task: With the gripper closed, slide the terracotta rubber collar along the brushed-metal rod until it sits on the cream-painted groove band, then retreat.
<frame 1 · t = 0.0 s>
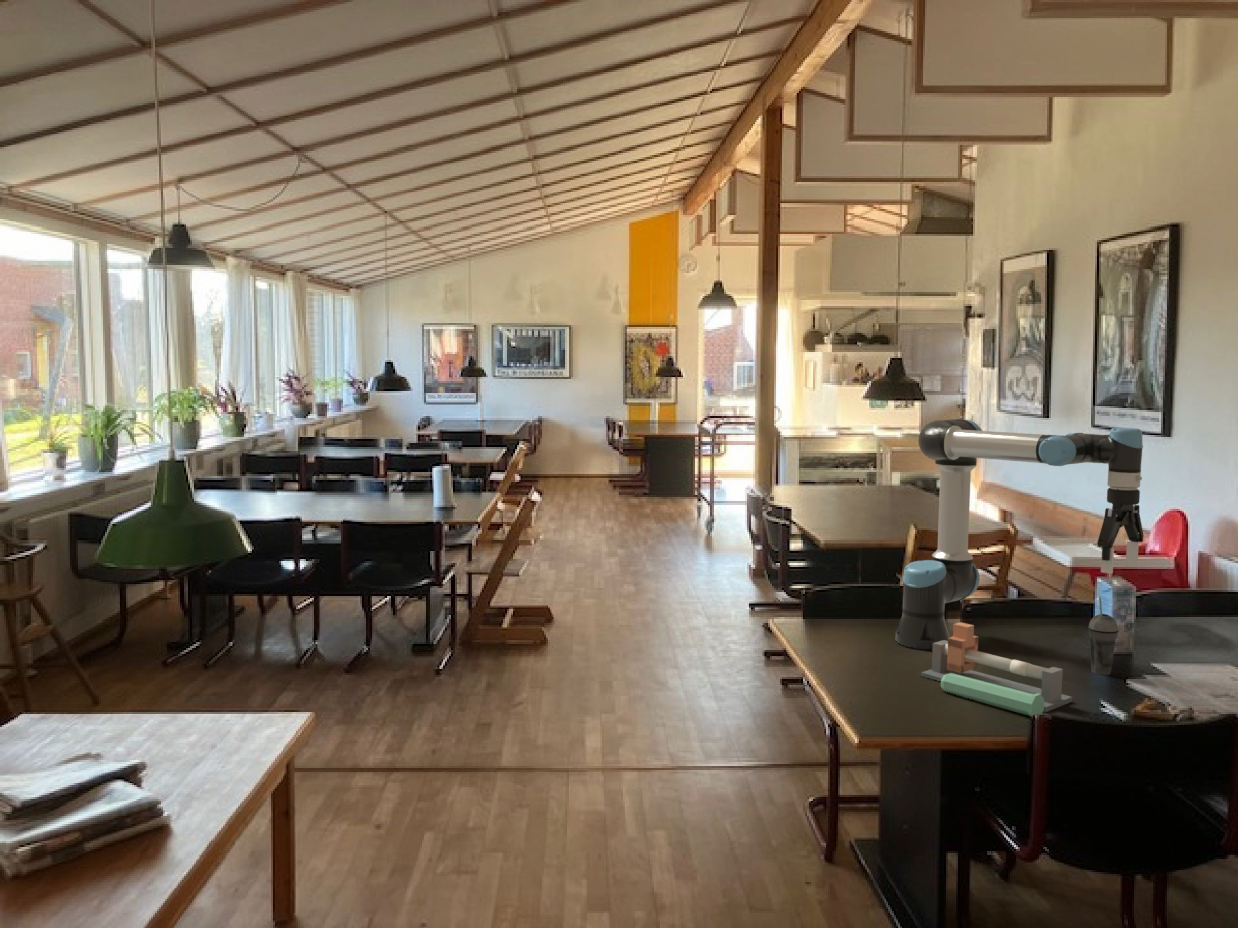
hand: (1119, 569, 261), 28 cm above the table, fingers open, 13 cm apart
beverage cup: (1100, 672, 266), on the table
rail: (993, 688, 252), on the table
light green long prism: (988, 704, 242), on the table
collar: (962, 646, 258), point 9 cm above the table, slide at 0.0 cm
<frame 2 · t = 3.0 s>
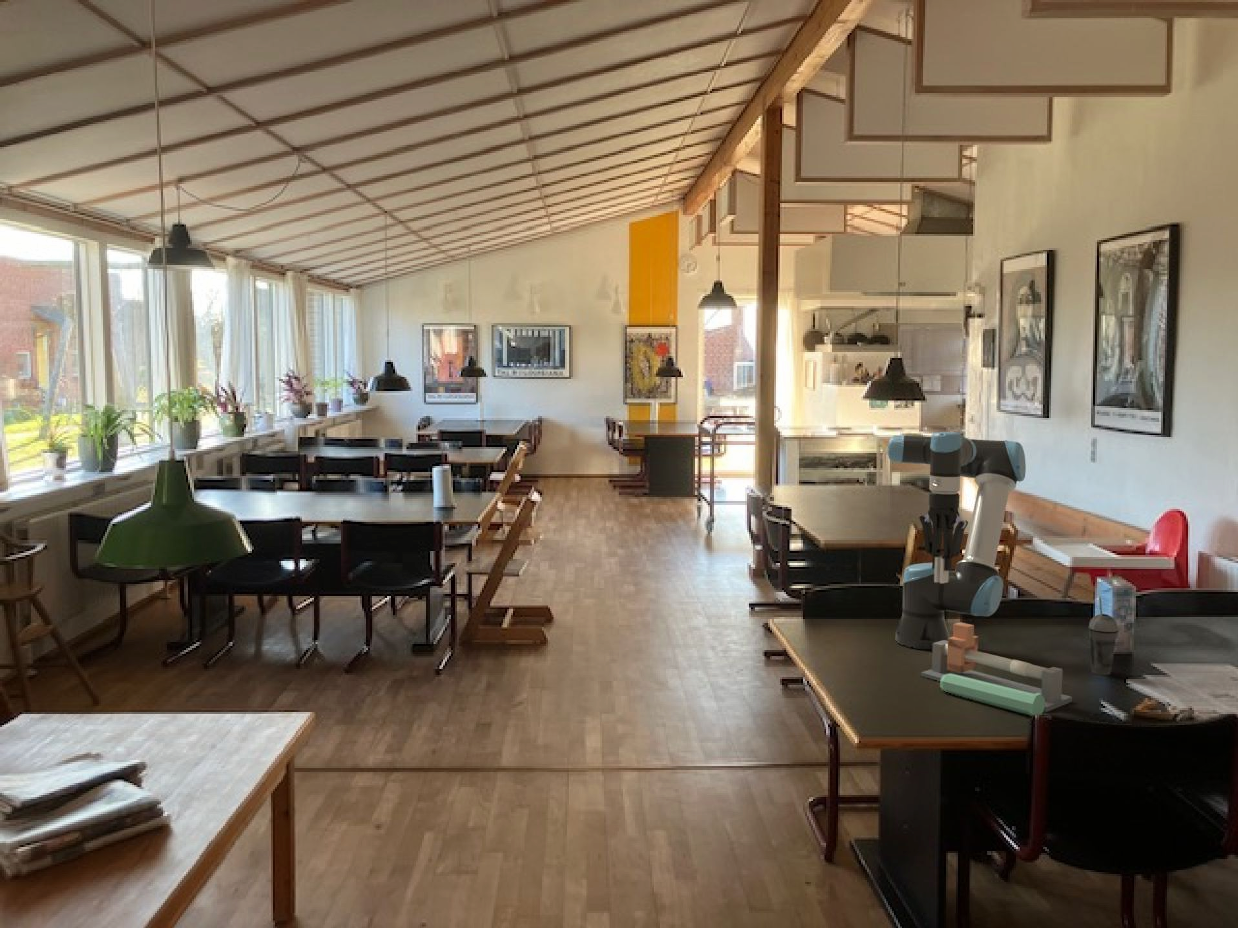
hand: (941, 581, 262), 24 cm above the table, fingers closed
nothing on the table moved.
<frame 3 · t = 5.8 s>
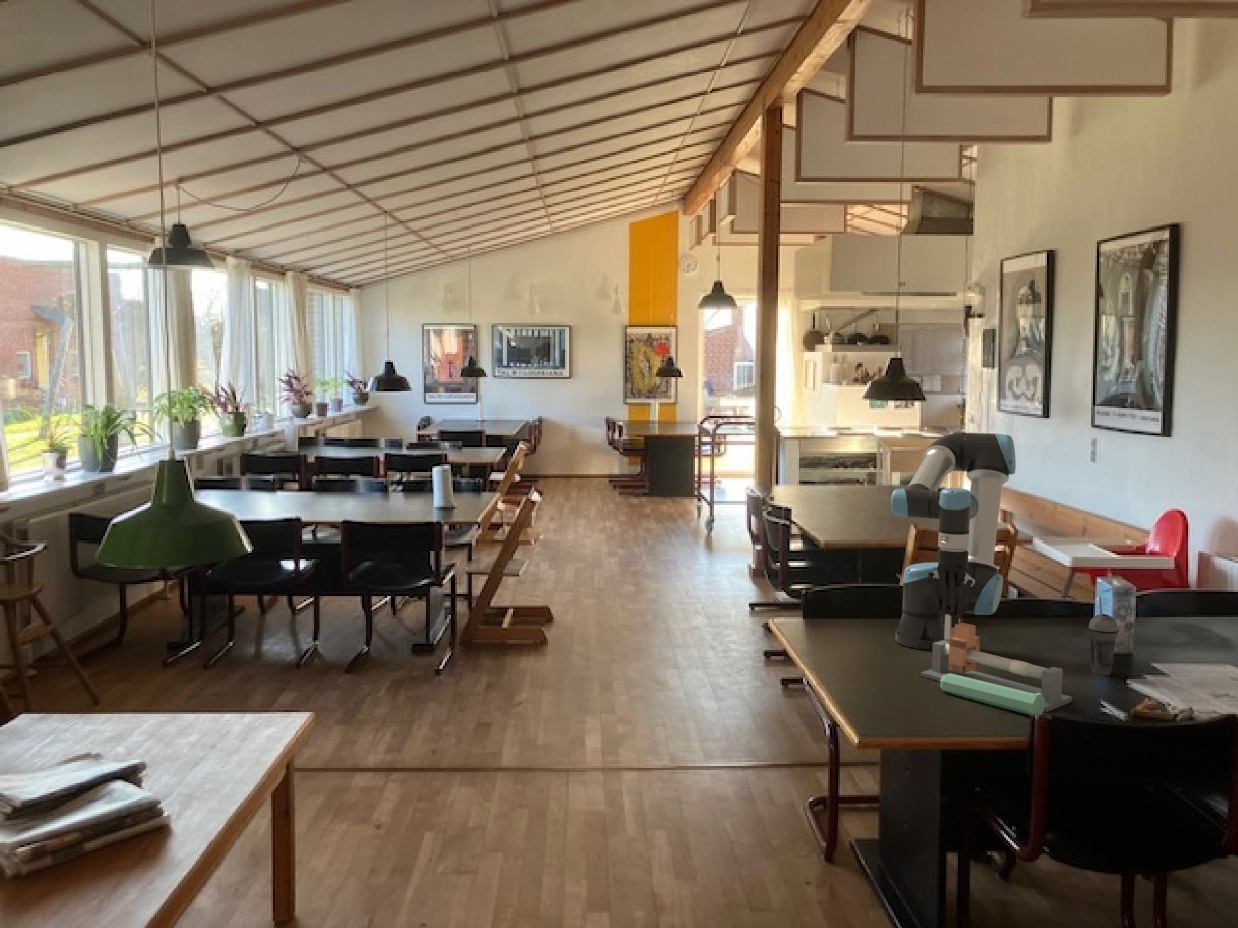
hand: (949, 638, 261), 10 cm above the table, fingers closed
collar: (964, 647, 258), point 9 cm above the table, slide at 0.5 cm, touching gripper
everything else where it was.
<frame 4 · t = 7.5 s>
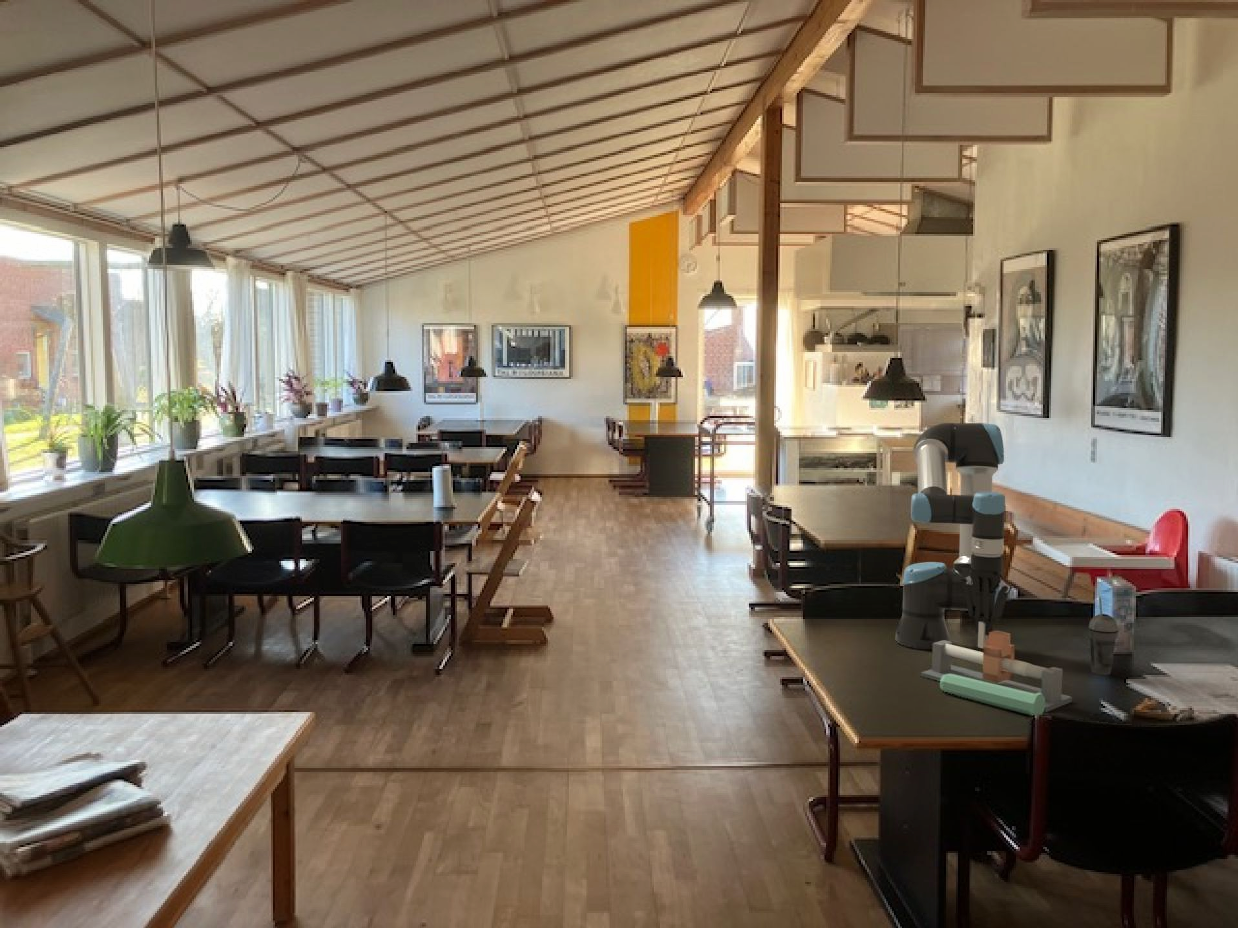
hand: (983, 646, 254), 10 cm above the table, fingers closed
collar: (998, 655, 251), point 9 cm above the table, slide at 10.1 cm, touching gripper
everything else where it was.
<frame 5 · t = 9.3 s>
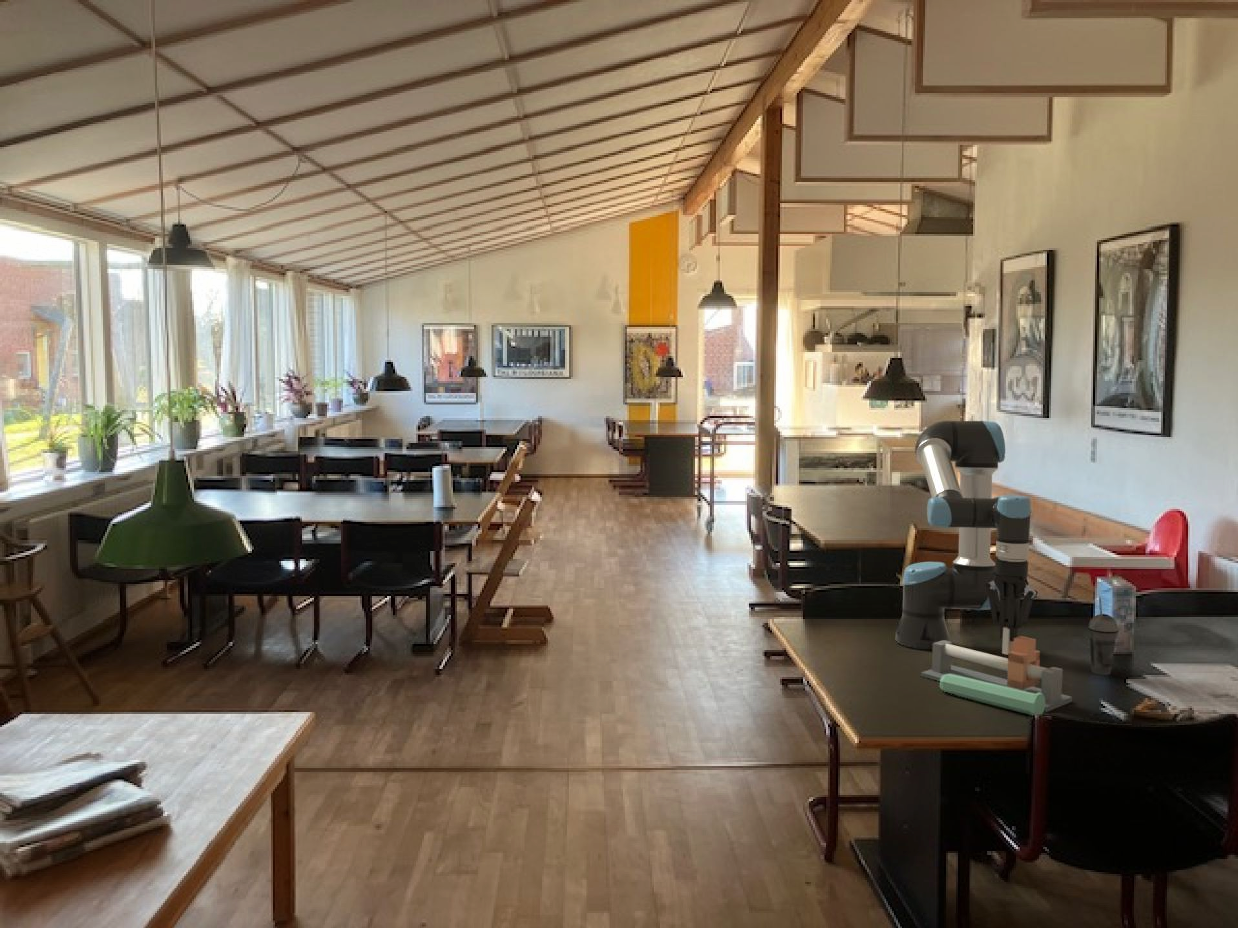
hand: (1007, 652, 249), 10 cm above the table, fingers closed
collar: (1023, 661, 245), point 9 cm above the table, slide at 16.7 cm, touching gripper
everything else where it was.
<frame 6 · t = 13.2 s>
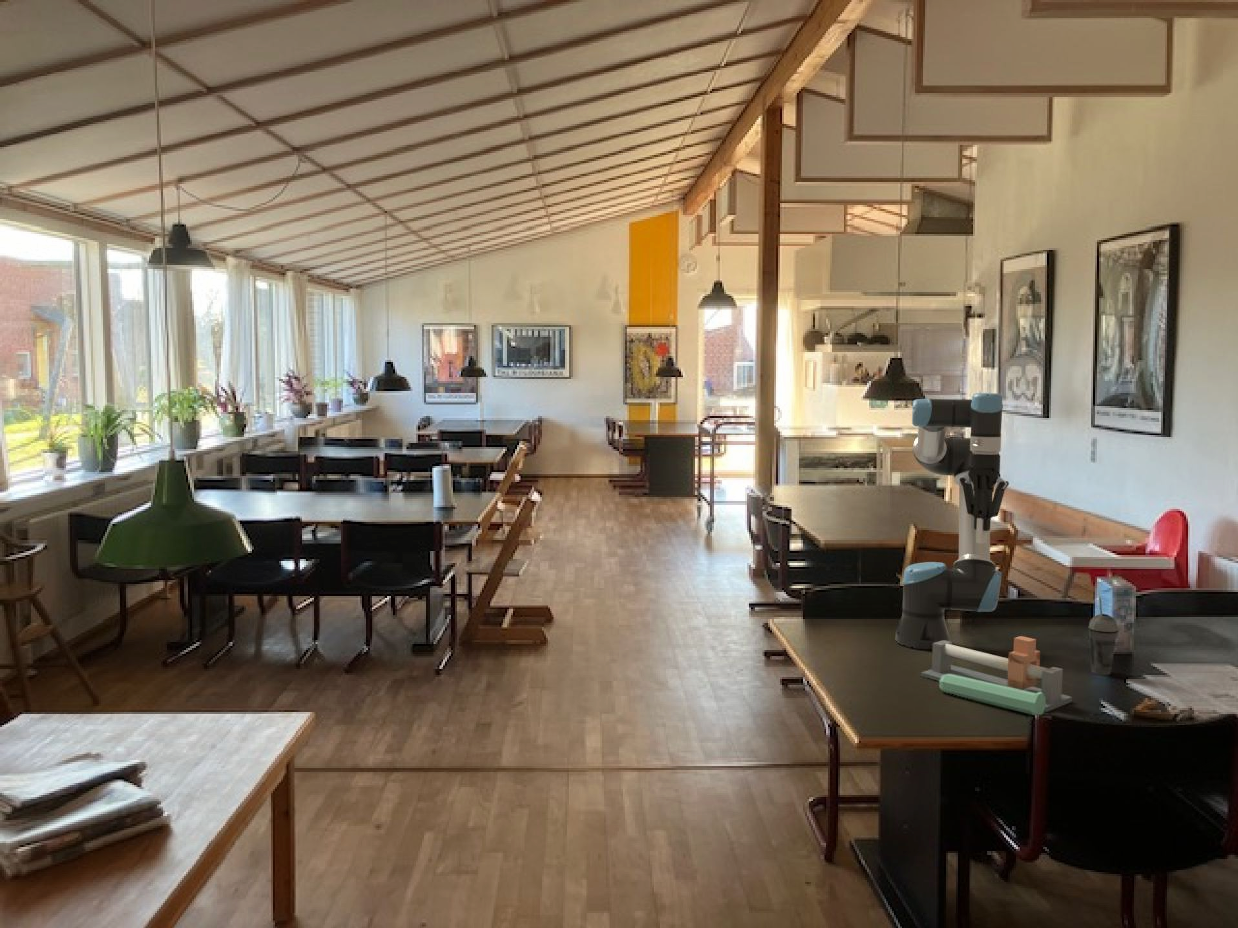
hand: (981, 542, 264), 34 cm above the table, fingers closed
collar: (1024, 661, 245), point 9 cm above the table, slide at 16.7 cm
everything else where it was.
at the end: collar slide at 16.7 cm; collar 0.7 cm from the target spot on the rail, point 8.8 cm above the rail's base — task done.
